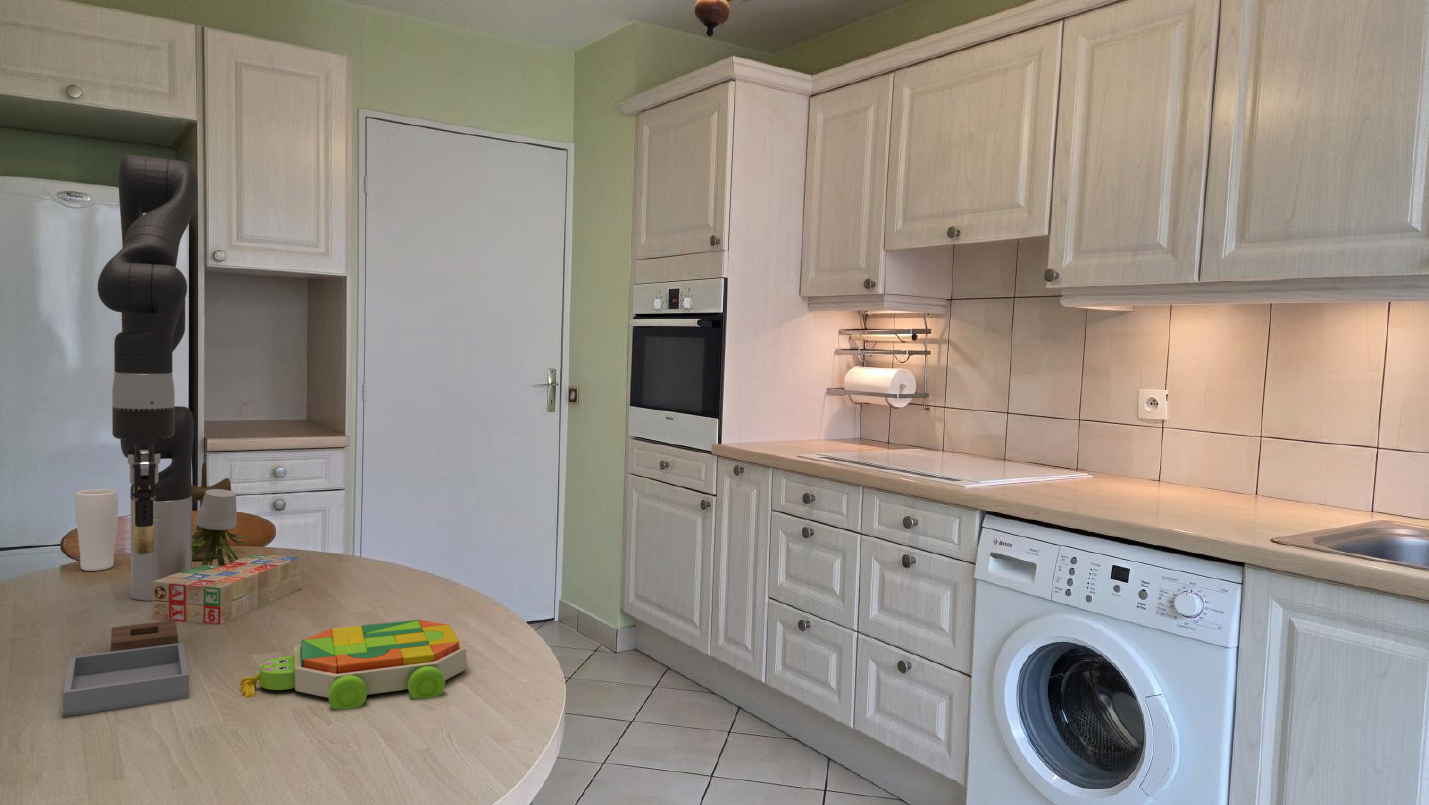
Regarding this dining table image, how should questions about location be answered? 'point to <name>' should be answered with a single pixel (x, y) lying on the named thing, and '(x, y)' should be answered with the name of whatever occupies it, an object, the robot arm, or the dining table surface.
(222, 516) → the house plant
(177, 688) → the pin tray
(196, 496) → the kendama
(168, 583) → the stack of blocks
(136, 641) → the pin base
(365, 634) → the wooden turtle toy
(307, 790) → the dining table surface
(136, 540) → the pin
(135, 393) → the robot arm
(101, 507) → the drinking glass
